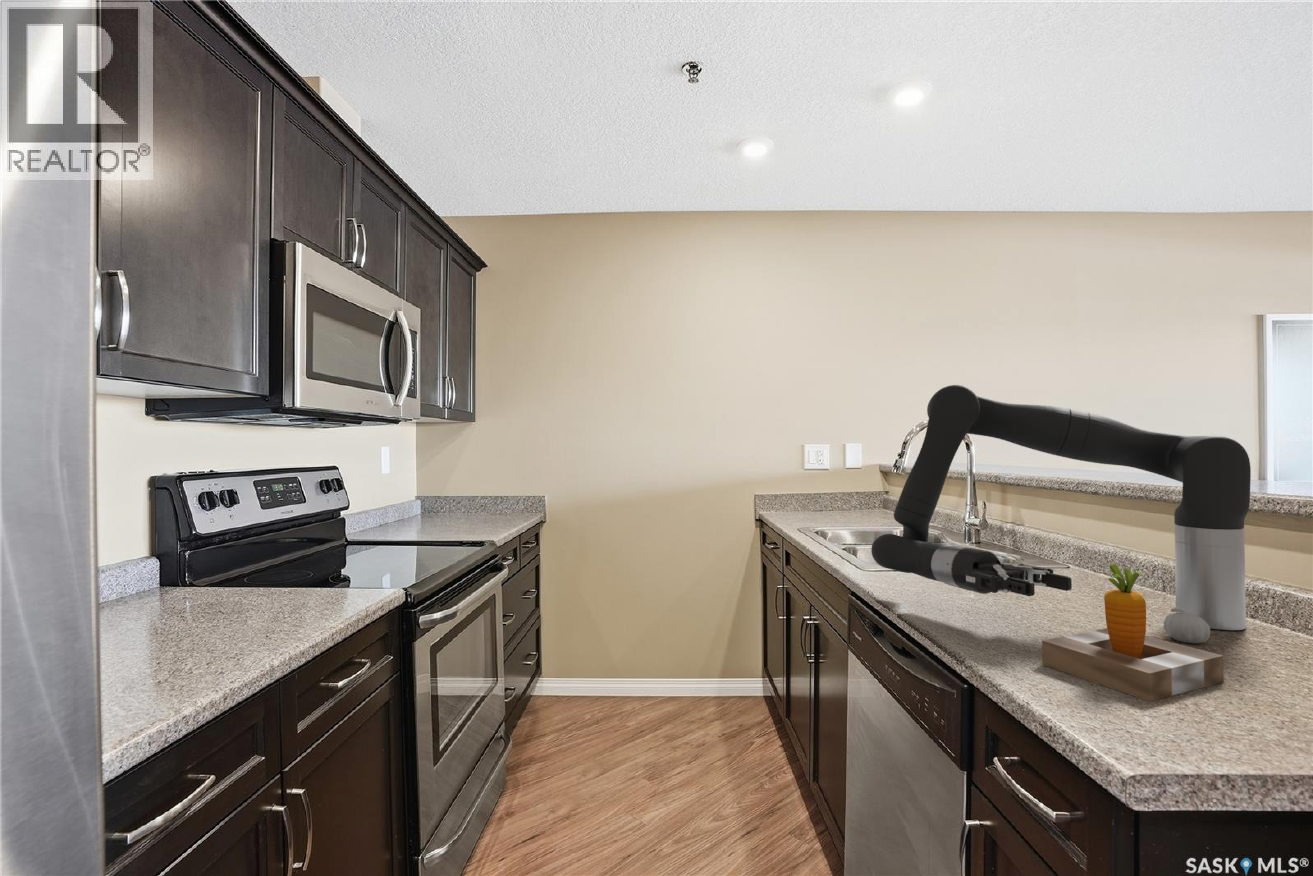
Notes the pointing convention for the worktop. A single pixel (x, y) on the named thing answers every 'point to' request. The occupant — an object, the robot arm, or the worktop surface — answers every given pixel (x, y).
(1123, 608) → the carrot
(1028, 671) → the worktop surface
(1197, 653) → the brown and silver frame
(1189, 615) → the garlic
